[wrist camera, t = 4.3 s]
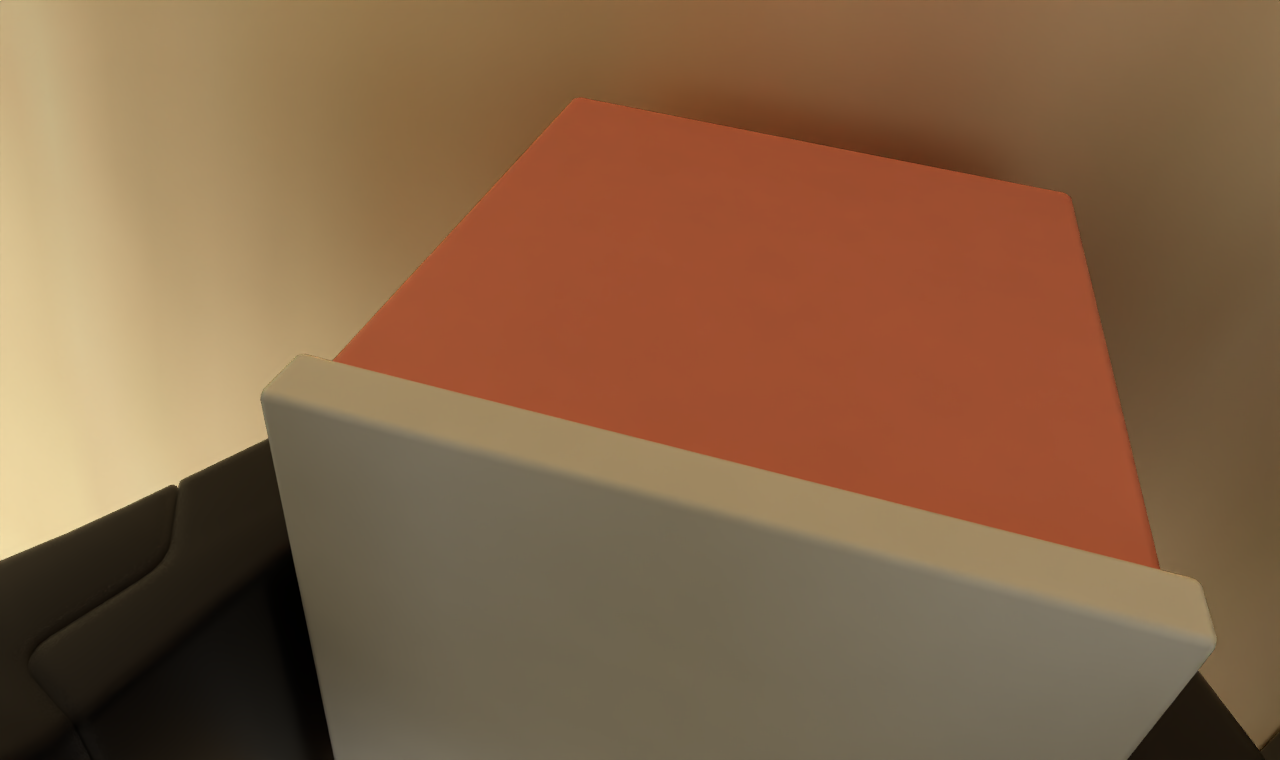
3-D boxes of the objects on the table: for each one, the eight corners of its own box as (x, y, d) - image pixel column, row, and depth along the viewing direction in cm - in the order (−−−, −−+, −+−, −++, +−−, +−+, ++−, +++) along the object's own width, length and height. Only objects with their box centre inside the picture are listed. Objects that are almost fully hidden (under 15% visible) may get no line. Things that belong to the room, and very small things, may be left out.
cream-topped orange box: (915, 586, 11) (898, 1052, 7) (545, 488, 12) (354, 867, 8) (1091, 181, 8) (1223, 644, 4) (564, 78, 8) (254, 391, 5)
